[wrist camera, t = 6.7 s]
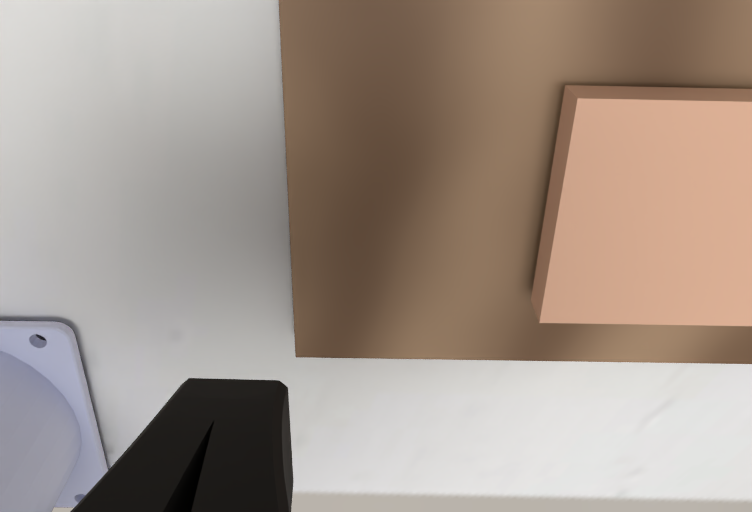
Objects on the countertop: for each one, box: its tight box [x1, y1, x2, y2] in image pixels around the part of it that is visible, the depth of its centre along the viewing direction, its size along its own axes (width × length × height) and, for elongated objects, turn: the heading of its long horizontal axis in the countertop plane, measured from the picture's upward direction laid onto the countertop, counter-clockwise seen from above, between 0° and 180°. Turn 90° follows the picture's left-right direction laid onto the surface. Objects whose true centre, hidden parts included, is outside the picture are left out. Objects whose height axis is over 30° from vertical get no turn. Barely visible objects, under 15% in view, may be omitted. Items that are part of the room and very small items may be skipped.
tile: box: [531, 85, 752, 326], centre depth 17 cm, size 2×6×6 cm
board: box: [279, 0, 752, 364], centre depth 18 cm, size 16×11×1 cm
